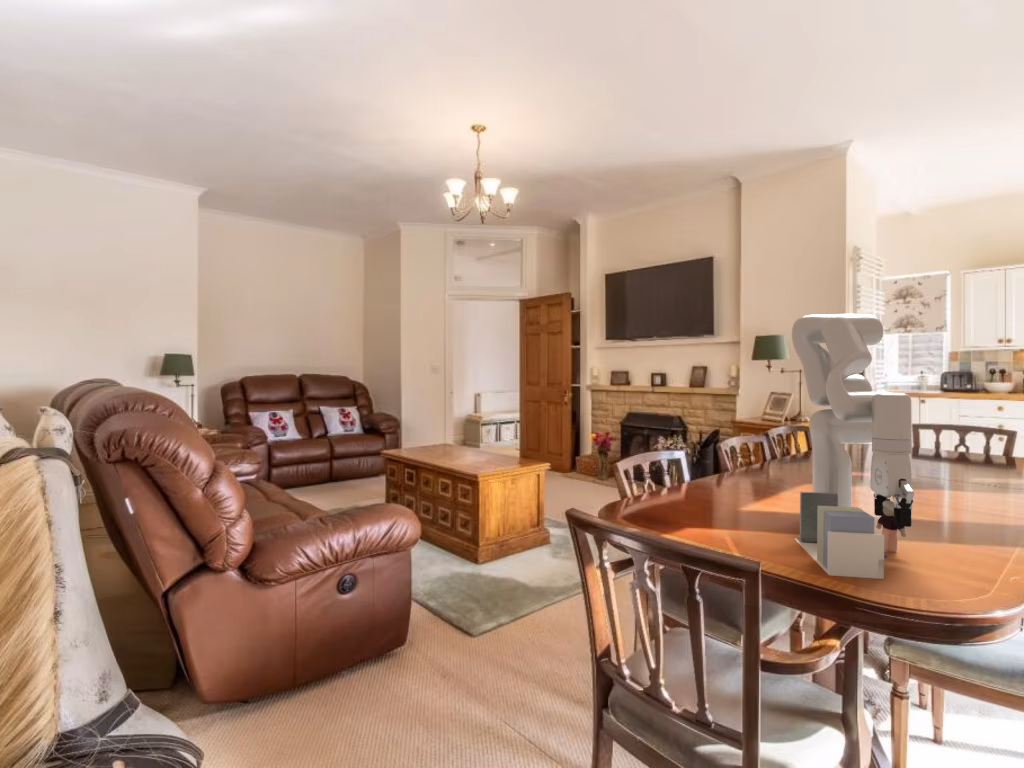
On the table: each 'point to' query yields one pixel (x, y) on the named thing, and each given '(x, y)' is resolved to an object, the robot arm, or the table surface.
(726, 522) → the table surface
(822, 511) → the book sage
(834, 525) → the book slate
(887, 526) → the grandmother figurine
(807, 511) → the bookend
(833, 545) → the book rack
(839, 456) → the robot arm
